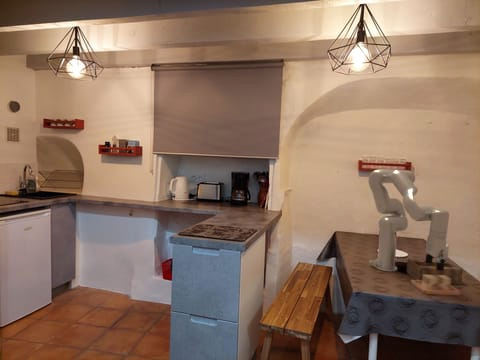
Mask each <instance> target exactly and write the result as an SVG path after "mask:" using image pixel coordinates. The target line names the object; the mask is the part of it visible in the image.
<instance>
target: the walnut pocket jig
mask: <svg viewBox="0 0 480 360" xmlns="http://www.w3.org/2000/svg"><path fill="white" fill-rule="evenodd" d="M425 261H426V259H413V258H412V259H410V258H407V262H406V272H407V273H406V274H407V275H409V276H410V277H412V278H413V280H422V277H423V275H446V276H448V277H449V278H451V284H452V285H462V281H463V273H464V272H463V271H464V269H462V268H461V267H459V266H457V265H455V264H454V263H452V262H450V261H448V260H447V261H446V262H445V263H444V270H443V271H441V270H436V268H437V262H438V260H432V263H426V262H425Z"/></svg>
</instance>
